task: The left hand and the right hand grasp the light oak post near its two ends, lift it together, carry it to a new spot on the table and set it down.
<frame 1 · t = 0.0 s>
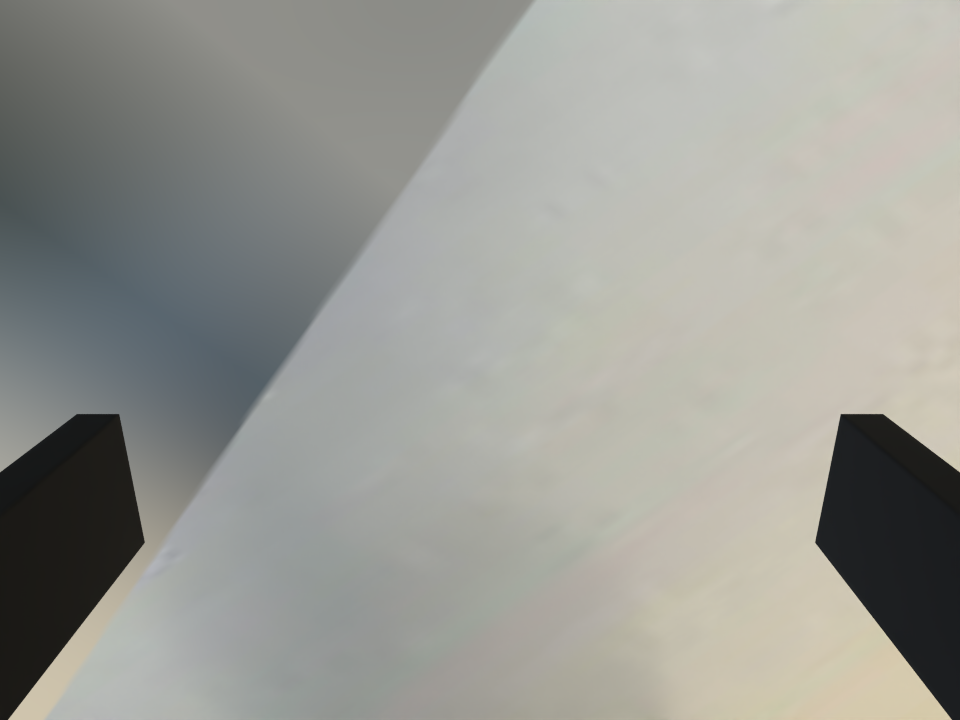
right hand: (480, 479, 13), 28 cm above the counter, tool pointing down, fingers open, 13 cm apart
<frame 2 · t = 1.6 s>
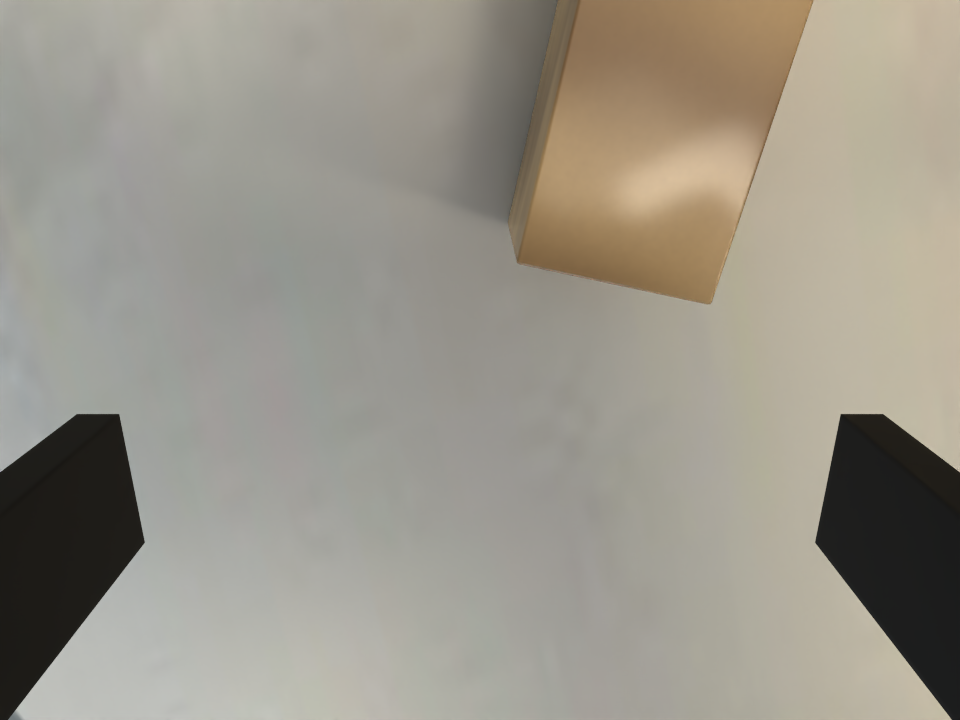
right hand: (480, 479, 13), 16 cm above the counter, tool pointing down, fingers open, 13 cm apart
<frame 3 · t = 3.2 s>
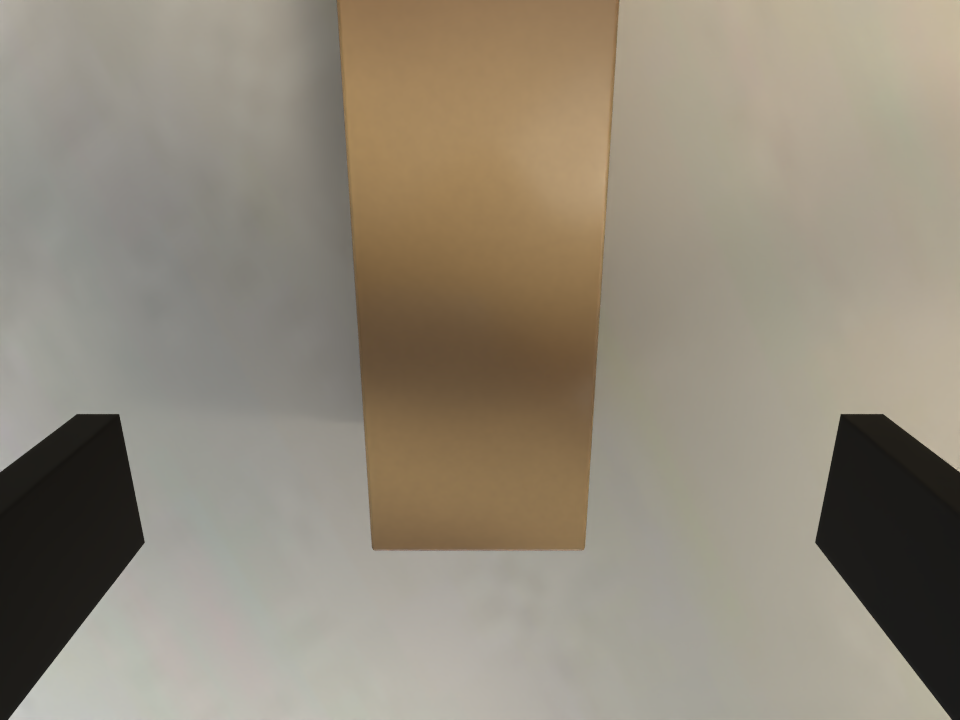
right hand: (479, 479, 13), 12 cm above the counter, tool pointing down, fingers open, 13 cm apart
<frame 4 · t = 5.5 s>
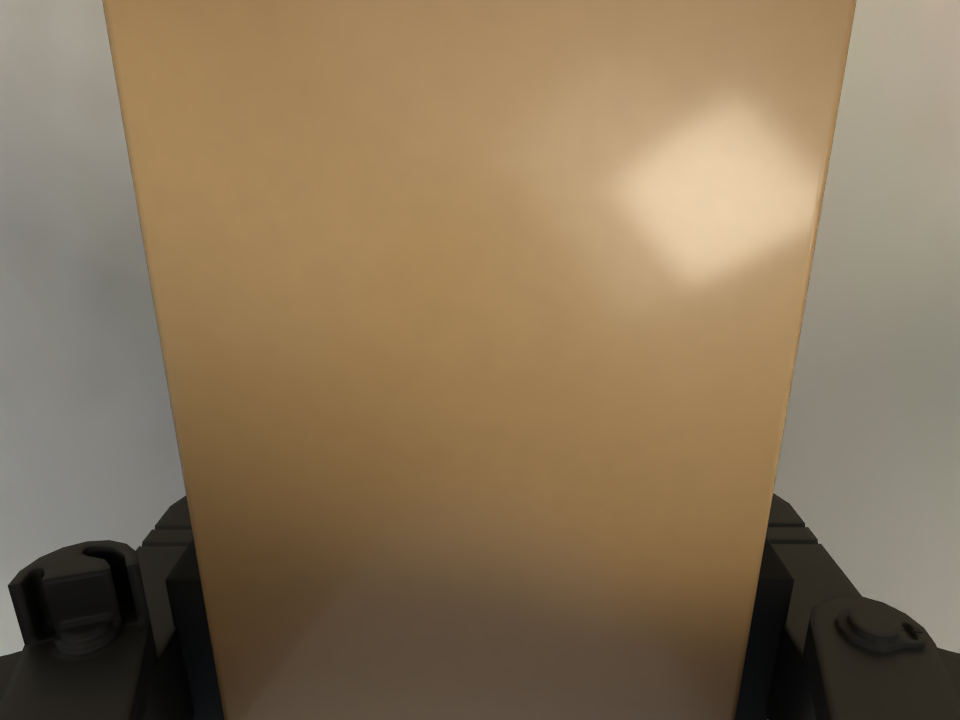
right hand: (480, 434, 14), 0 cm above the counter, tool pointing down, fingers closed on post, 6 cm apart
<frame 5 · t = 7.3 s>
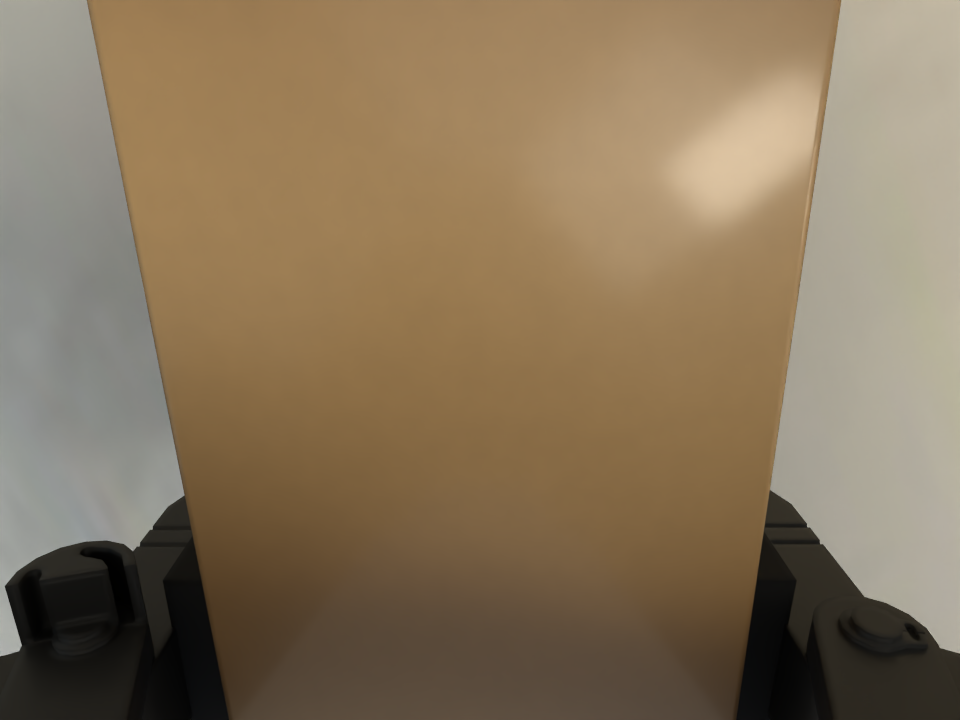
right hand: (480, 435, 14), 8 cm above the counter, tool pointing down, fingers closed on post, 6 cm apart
when the left hand's fingers open (2 cm above the counter, at t = 9.1 s): post drops 1 cm, on the counter.
when the right hand's fingers open (2 cm above the counter, at t = 9.1 s): post drops 1 cm, on the counter.
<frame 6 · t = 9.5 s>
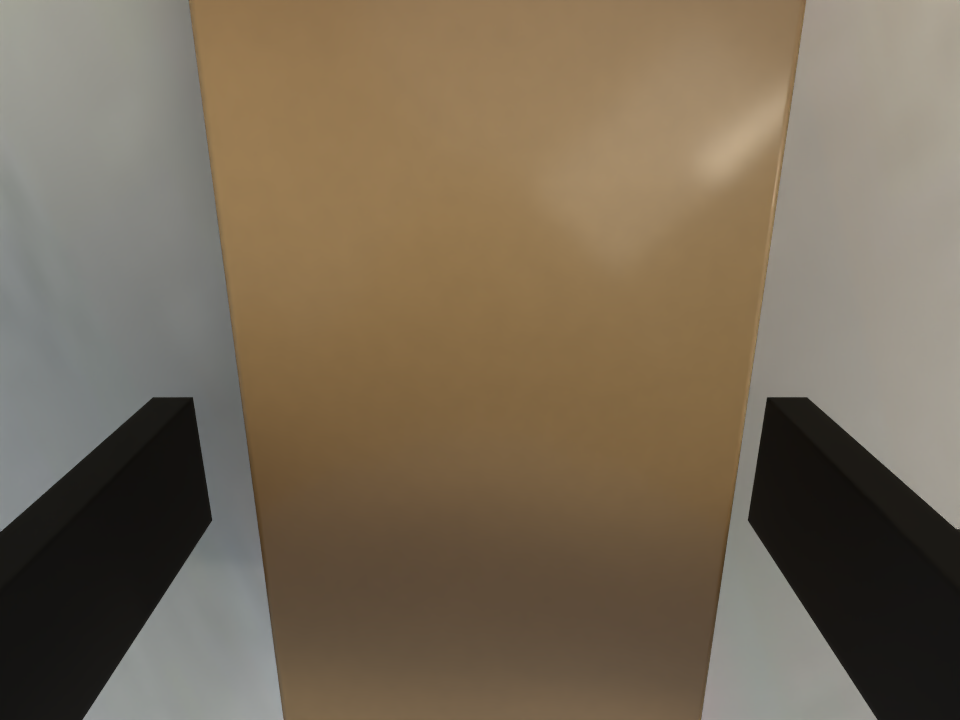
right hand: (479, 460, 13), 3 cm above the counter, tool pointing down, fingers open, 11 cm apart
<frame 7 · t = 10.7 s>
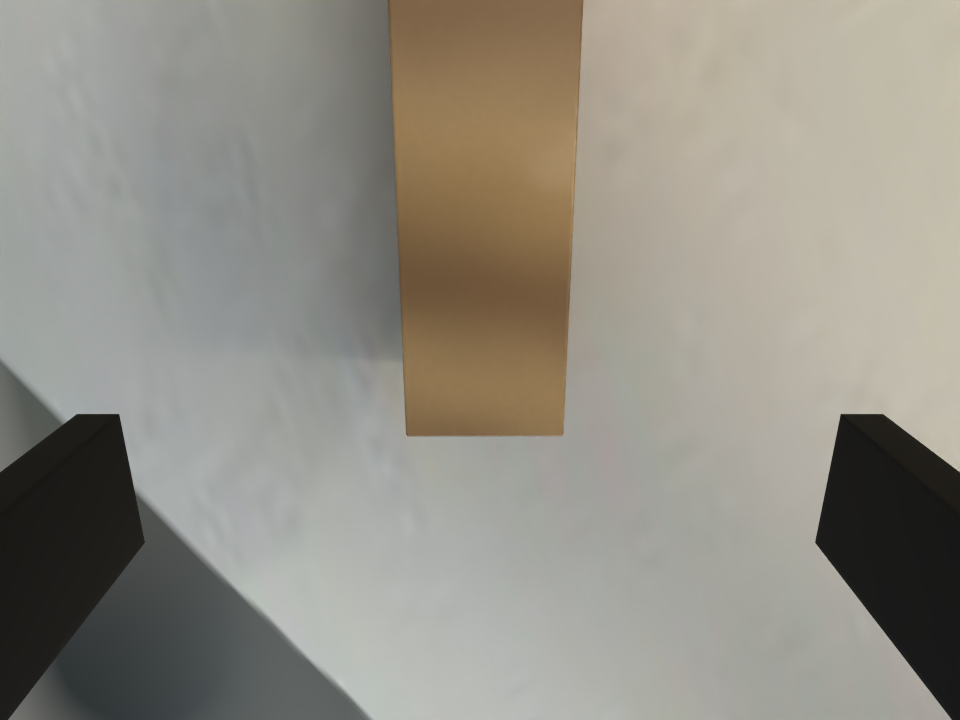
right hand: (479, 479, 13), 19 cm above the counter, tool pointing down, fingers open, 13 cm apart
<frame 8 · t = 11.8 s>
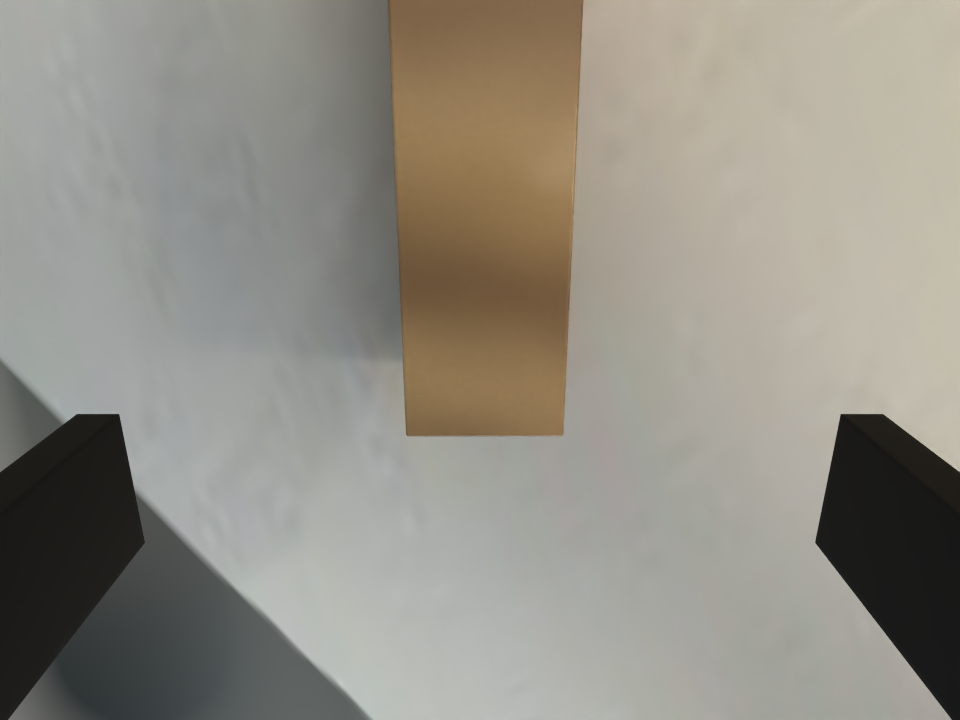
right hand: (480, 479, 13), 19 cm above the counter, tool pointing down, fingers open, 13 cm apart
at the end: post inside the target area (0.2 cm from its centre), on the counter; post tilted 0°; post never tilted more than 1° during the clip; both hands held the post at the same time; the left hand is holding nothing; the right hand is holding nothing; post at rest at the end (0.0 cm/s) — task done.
